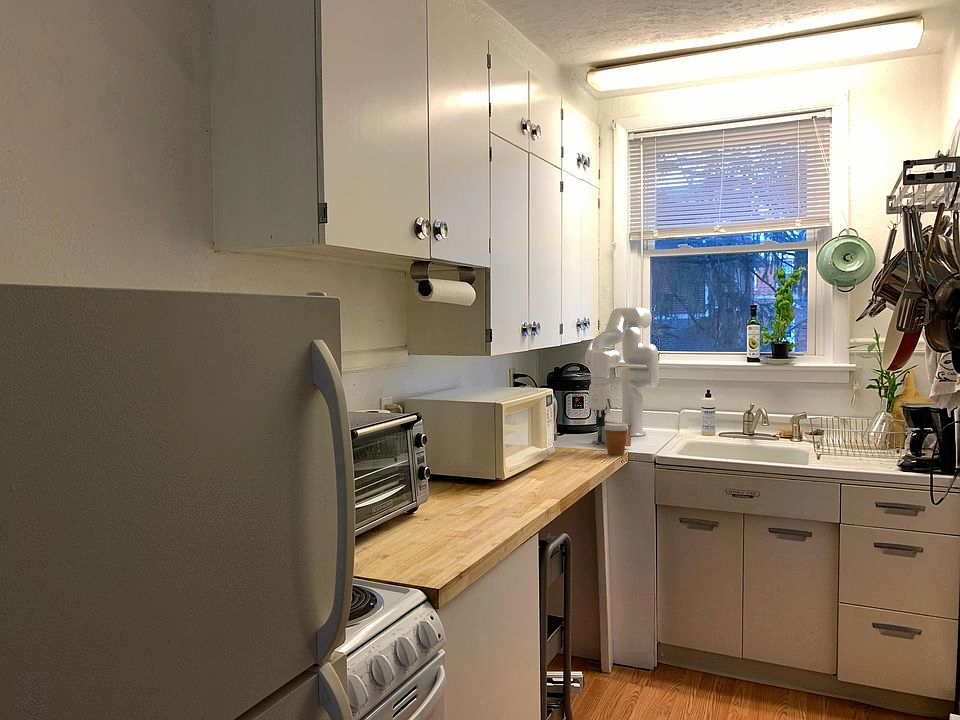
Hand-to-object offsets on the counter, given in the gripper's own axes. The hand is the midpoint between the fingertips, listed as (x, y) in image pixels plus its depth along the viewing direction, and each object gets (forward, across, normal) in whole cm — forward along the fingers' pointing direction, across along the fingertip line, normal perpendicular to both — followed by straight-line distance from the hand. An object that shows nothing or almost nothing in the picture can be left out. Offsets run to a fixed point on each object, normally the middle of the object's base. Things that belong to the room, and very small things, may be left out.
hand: (600, 426), depth 300 cm
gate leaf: (+9, -3, +11) cm, 15 cm away
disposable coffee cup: (+10, +11, -1) cm, 15 cm away
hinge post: (+10, -13, +11) cm, 20 cm away
